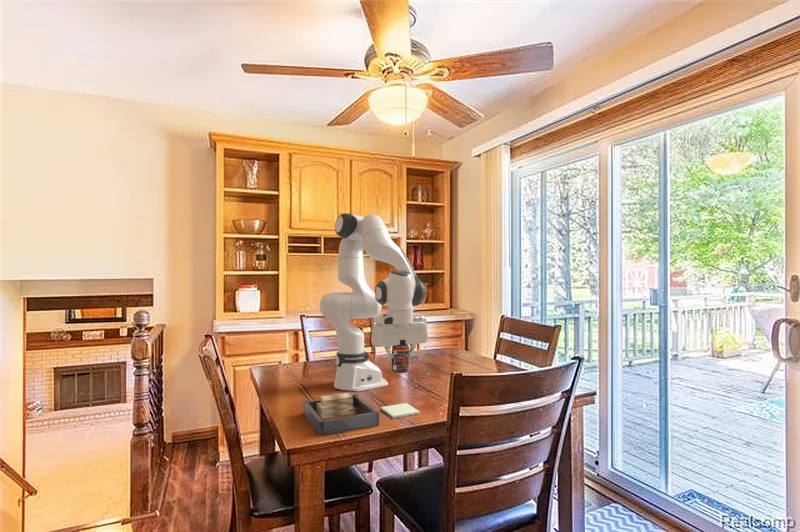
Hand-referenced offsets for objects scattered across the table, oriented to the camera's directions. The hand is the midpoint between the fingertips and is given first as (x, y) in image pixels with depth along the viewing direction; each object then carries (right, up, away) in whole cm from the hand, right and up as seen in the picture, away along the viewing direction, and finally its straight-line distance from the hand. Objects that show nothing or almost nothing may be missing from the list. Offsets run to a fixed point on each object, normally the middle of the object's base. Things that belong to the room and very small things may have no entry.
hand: (400, 357), depth 147 cm
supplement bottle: (0, -5, 0) cm, 5 cm away
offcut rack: (-20, -18, -7) cm, 28 cm away
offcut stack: (-22, -19, -2) cm, 29 cm away
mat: (0, -18, 0) cm, 19 cm away
